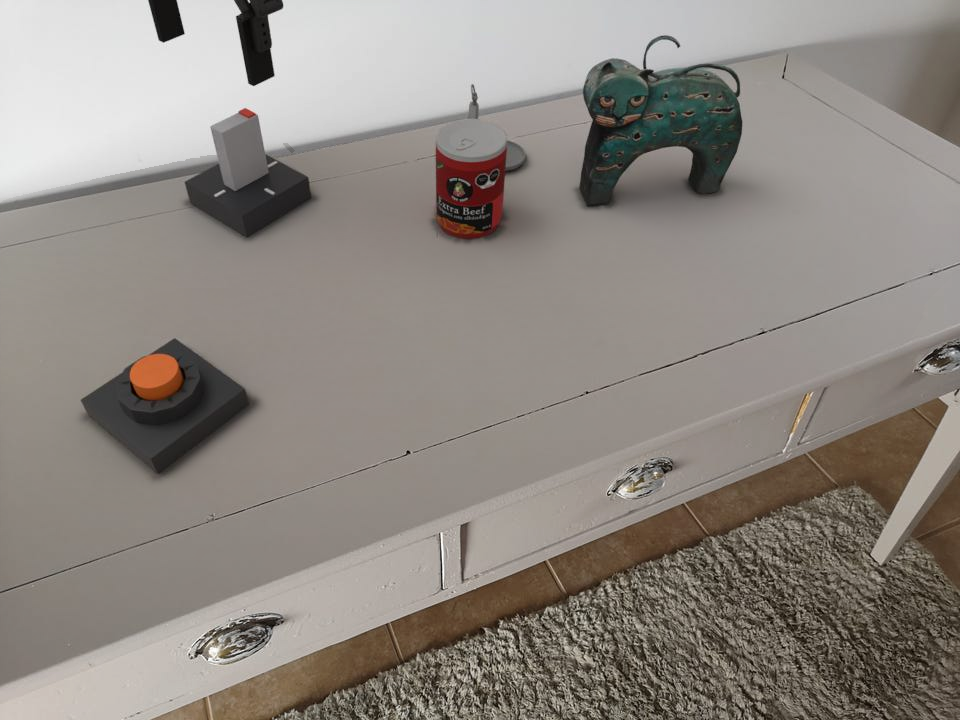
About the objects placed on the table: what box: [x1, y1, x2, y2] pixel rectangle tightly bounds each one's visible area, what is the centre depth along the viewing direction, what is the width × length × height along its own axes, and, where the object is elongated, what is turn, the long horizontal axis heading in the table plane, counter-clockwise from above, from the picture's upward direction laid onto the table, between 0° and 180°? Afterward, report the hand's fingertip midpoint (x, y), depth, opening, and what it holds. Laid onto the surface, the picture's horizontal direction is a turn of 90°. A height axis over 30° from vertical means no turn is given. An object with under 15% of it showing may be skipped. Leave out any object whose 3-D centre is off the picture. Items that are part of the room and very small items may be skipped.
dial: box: [210, 107, 269, 191], centre depth 87 cm, size 5×2×8 cm, turn 142°
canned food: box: [435, 118, 508, 239], centre depth 88 cm, size 8×8×11 cm
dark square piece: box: [80, 337, 250, 475], centre depth 69 cm, size 10×10×4 cm
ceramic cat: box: [578, 34, 743, 207], centre depth 90 cm, size 20×6×20 cm, turn 101°
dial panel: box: [184, 153, 312, 238], centre depth 91 cm, size 10×10×3 cm
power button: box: [130, 354, 183, 401], centre depth 67 cm, size 4×4×2 cm
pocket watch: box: [467, 83, 526, 172], centre depth 97 cm, size 8×8×10 cm
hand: (215, 58), depth 78 cm, fingers open, 13 cm apart
